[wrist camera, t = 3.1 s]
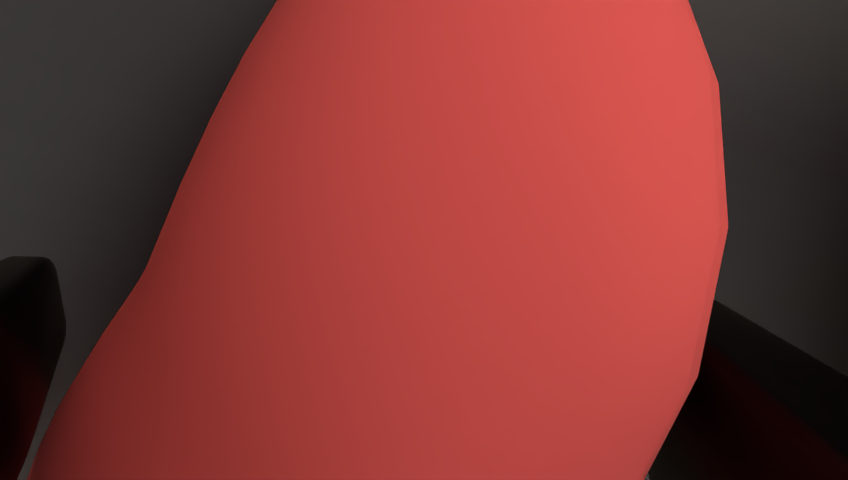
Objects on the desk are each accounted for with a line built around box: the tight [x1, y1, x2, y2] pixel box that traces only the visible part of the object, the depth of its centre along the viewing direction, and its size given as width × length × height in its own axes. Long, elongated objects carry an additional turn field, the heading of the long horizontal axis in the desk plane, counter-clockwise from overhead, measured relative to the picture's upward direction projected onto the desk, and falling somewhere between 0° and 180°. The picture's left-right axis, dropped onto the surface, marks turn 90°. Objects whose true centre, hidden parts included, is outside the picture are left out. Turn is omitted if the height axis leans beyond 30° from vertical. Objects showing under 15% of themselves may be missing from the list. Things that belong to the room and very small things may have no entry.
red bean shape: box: [27, 0, 728, 480], centre depth 8 cm, size 5×9×6 cm, turn 136°
